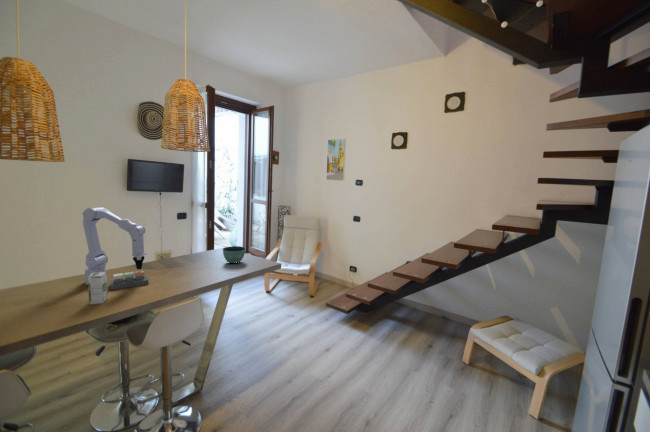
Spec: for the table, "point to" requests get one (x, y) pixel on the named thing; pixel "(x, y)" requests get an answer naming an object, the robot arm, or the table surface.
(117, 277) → the ivory key
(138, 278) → the terracotta key
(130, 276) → the sage key
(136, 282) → the keypad plate
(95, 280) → the syrup box
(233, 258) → the flower pot
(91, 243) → the robot arm
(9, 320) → the table surface
